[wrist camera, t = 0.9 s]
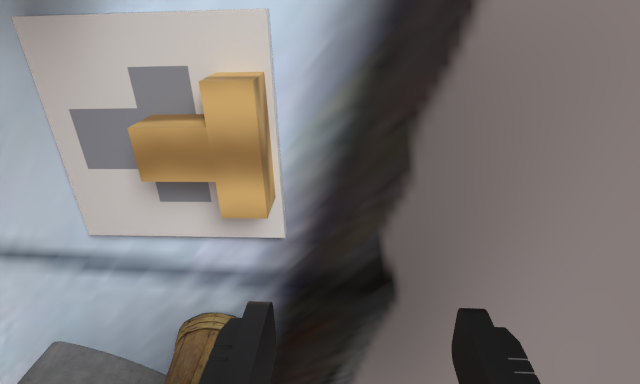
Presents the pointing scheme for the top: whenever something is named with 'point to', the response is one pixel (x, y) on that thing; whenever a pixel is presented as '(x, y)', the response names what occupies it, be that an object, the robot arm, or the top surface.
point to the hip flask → (87, 368)
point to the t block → (215, 145)
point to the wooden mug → (194, 347)
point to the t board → (144, 109)
